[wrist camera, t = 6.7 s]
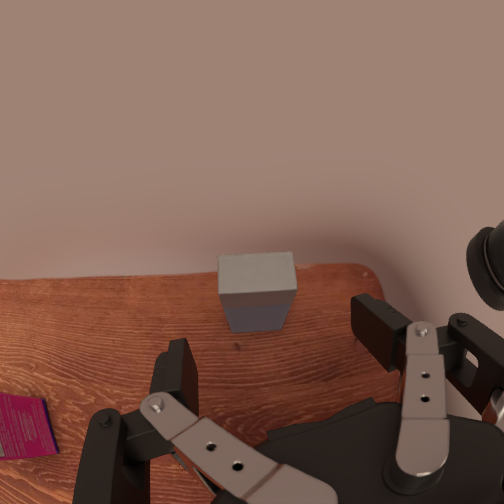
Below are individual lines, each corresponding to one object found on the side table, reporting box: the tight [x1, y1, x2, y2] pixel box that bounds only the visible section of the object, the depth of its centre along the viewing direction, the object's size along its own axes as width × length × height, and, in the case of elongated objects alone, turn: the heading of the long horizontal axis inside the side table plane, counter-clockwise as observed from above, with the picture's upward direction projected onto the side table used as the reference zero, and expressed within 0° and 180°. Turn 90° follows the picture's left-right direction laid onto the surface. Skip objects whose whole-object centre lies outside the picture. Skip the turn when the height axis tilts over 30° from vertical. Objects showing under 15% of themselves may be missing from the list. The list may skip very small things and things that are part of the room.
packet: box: [218, 252, 298, 333], centre depth 19 cm, size 4×2×9 cm, turn 93°
